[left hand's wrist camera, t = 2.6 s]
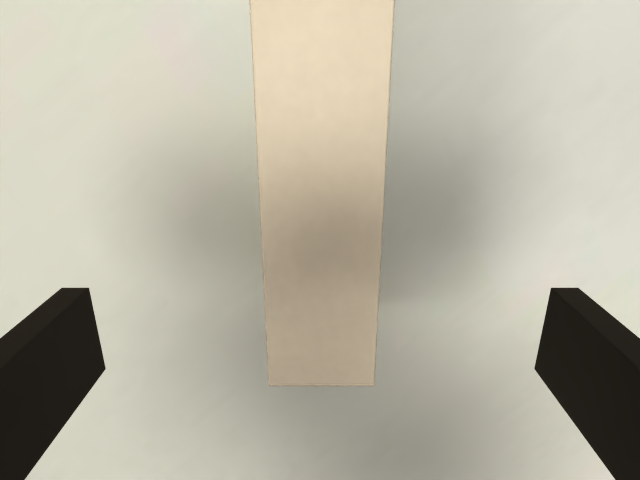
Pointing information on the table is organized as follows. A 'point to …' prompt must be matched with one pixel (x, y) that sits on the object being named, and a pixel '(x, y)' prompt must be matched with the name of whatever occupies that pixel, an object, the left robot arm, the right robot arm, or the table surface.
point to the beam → (321, 182)
